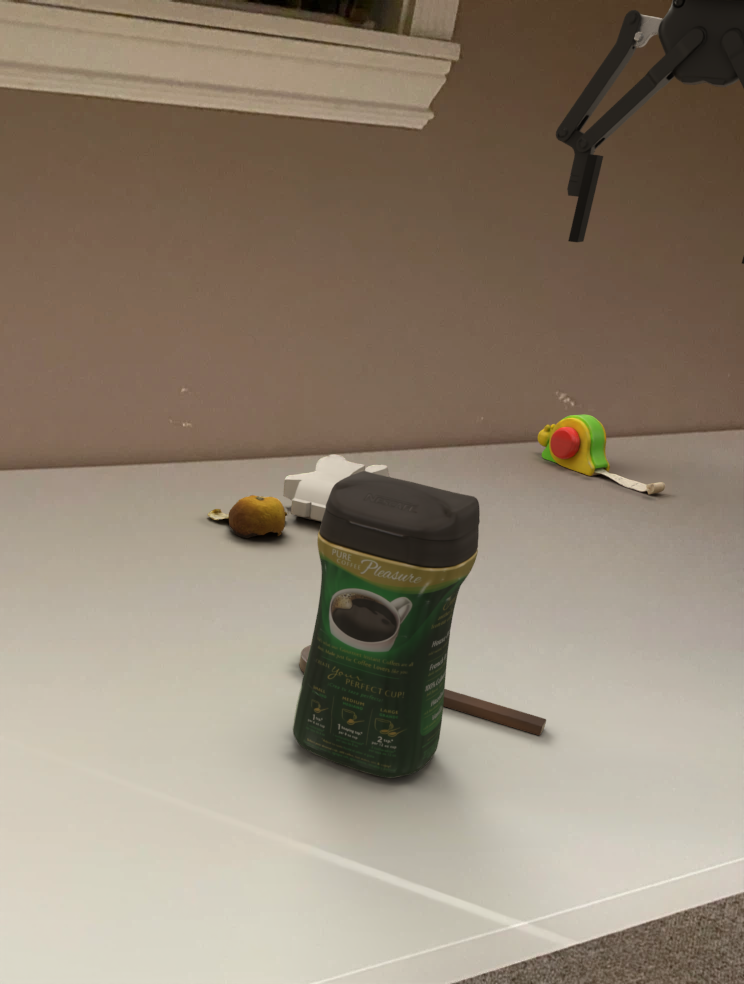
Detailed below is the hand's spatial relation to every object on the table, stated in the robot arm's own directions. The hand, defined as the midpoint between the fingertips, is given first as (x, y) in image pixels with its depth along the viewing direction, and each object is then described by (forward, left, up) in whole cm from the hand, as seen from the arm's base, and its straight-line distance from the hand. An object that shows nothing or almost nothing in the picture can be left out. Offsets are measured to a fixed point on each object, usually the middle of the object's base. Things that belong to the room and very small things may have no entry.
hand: (659, 252), depth 90 cm
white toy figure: (+28, -7, -30) cm, 41 cm away
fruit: (+32, +4, -30) cm, 44 cm away
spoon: (+6, +30, -30) cm, 43 cm away
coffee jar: (+6, +40, -30) cm, 50 cm away
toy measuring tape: (+7, -45, -30) cm, 55 cm away
